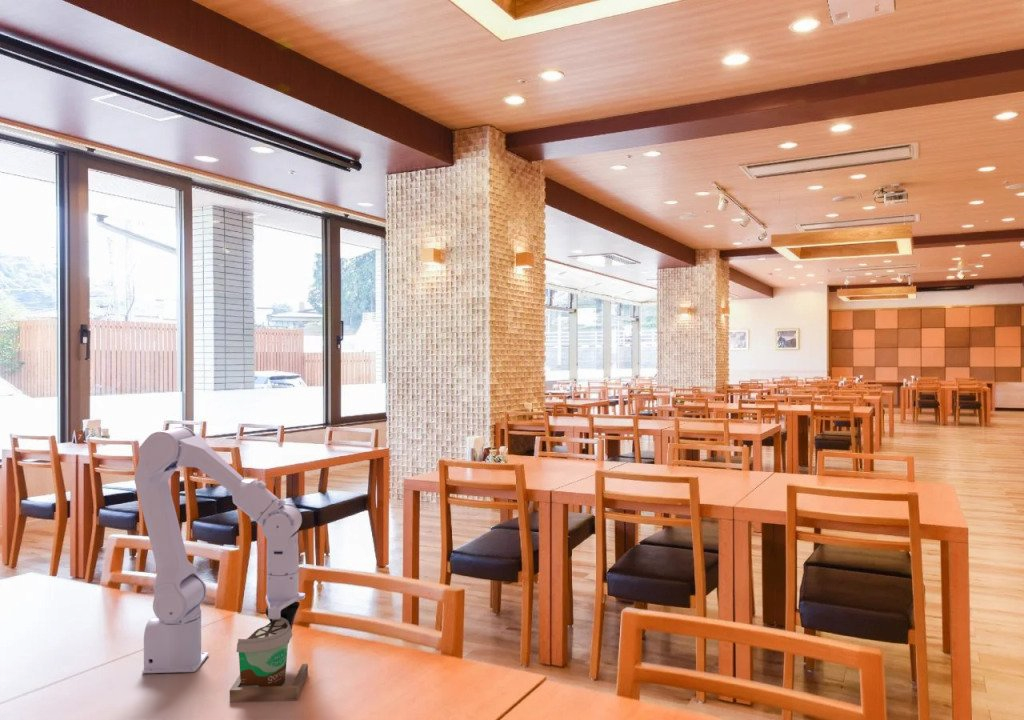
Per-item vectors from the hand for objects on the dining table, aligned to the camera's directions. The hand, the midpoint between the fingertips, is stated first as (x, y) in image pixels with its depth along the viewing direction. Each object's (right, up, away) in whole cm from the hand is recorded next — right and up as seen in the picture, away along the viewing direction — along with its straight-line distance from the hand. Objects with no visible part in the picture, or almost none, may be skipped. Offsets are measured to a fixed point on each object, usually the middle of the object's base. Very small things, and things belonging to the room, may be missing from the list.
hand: (282, 643), depth 142 cm
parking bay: (+1, -4, -9) cm, 10 cm away
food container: (+1, -4, -8) cm, 9 cm away
